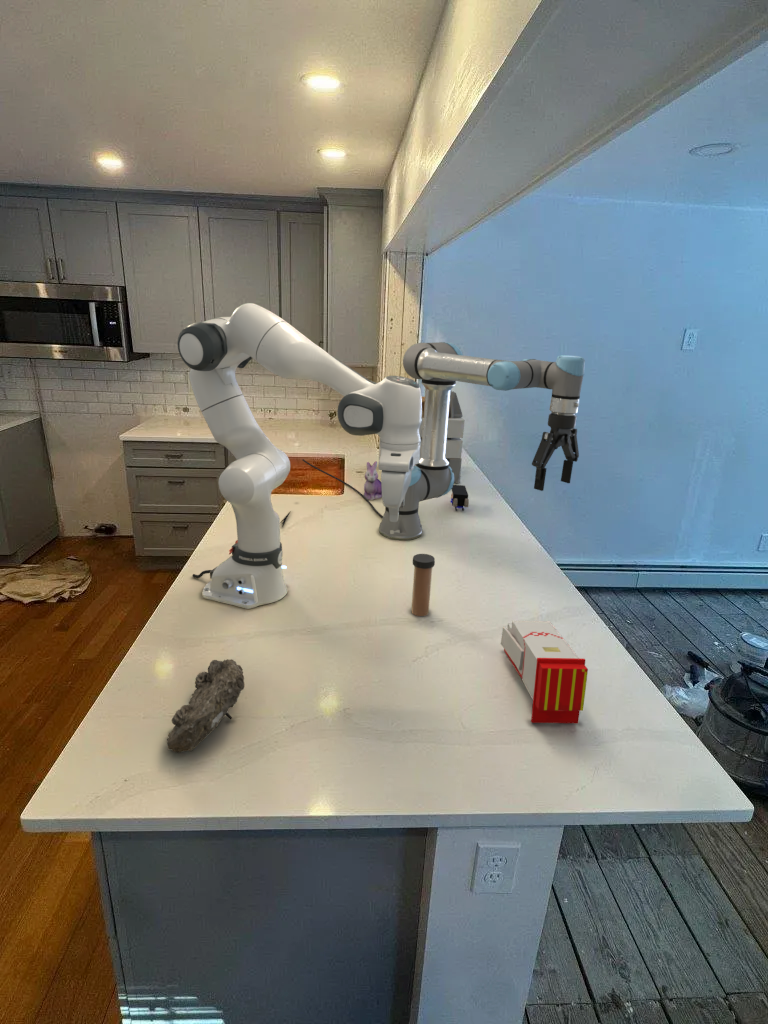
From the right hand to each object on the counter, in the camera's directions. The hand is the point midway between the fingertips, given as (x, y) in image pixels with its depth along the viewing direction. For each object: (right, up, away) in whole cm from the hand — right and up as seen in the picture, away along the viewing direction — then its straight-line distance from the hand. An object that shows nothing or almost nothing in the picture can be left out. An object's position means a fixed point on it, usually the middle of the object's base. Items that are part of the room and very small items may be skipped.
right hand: (552, 485), depth 166 cm
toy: (-16, -44, -42) cm, 64 cm away
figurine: (-54, -1, +72) cm, 90 cm away
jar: (-40, -34, -16) cm, 55 cm away
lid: (-39, -20, -22) cm, 49 cm away
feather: (-85, -9, +48) cm, 98 cm away
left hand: (-46, -8, -38) cm, 61 cm away
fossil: (-82, -47, -57) cm, 110 cm away
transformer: (-32, +11, +109) cm, 115 cm away
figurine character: (-19, -6, +64) cm, 67 cm away
